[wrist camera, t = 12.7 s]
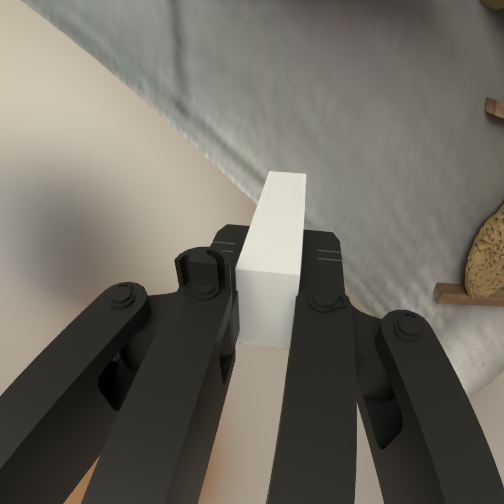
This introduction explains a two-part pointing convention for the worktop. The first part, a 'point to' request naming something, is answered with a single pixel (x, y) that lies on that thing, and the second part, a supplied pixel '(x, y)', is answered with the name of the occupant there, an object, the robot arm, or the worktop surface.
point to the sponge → (487, 258)
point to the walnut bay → (459, 292)
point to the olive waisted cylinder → (494, 4)
